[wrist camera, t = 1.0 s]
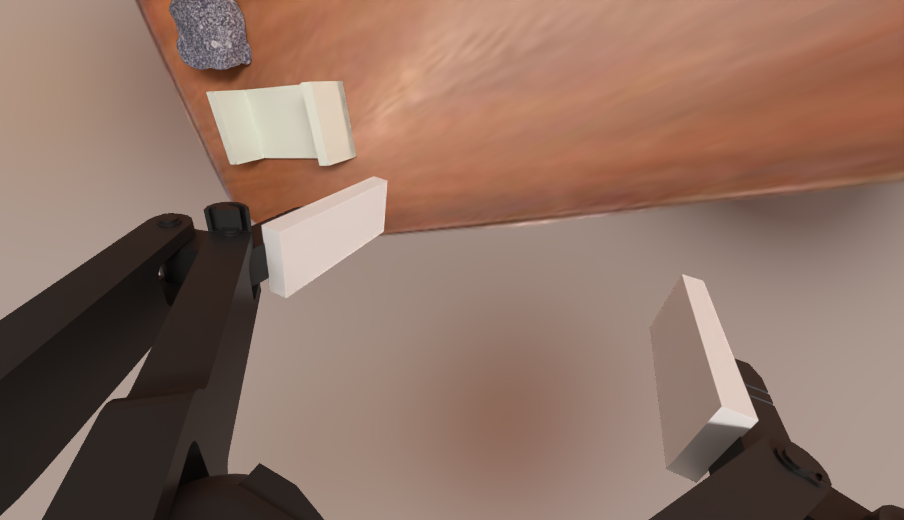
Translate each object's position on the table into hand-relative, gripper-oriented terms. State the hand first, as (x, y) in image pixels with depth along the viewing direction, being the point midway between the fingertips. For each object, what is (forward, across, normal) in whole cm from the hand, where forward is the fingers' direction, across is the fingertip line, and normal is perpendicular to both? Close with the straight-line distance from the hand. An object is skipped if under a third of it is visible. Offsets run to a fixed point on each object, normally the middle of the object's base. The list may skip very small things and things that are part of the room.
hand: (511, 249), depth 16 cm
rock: (+26, -48, +4) cm, 55 cm away
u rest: (+26, -36, -6) cm, 44 cm away
